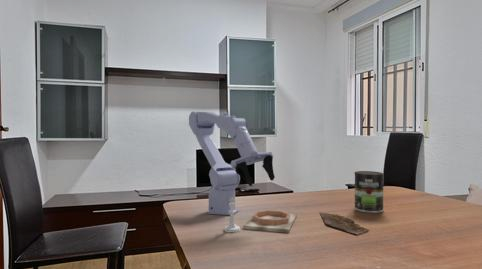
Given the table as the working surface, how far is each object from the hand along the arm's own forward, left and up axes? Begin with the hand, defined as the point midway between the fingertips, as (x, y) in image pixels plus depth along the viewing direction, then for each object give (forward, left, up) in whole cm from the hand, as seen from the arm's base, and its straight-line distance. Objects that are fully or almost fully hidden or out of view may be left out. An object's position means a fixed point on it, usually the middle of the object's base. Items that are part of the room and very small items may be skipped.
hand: (262, 181), depth 99 cm
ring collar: (+2, +5, -14) cm, 15 cm away
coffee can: (+34, +32, -14) cm, 49 cm away
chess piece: (-8, -6, -14) cm, 17 cm away
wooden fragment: (+23, +11, -15) cm, 29 cm away
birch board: (+2, +5, -14) cm, 15 cm away
